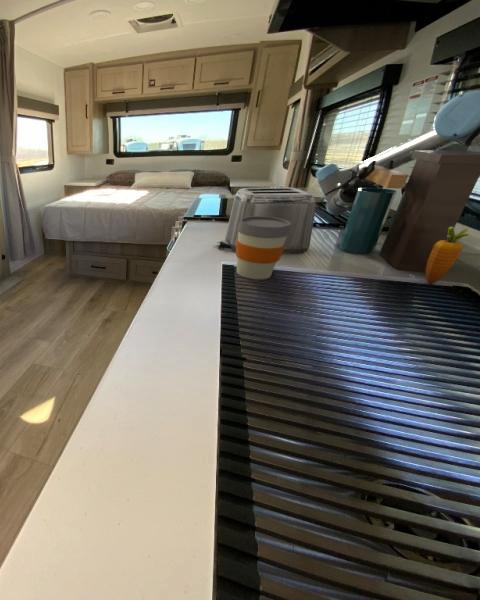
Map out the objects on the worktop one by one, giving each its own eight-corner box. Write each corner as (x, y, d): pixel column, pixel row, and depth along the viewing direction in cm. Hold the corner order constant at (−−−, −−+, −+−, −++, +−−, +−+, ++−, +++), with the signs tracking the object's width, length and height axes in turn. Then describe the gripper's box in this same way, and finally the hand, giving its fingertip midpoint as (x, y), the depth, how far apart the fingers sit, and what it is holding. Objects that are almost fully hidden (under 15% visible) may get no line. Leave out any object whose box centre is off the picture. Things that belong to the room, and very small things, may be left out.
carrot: (440, 282, 85) (469, 225, 78) (445, 290, 82) (476, 230, 75) (414, 279, 88) (440, 223, 81) (418, 286, 84) (446, 228, 77)
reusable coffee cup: (272, 266, 99) (284, 216, 92) (283, 283, 88) (298, 228, 81) (227, 264, 102) (236, 215, 95) (232, 280, 91) (242, 226, 85)
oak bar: (361, 176, 109) (364, 165, 108) (374, 176, 108) (378, 165, 106) (386, 188, 90) (391, 174, 88) (403, 188, 89) (408, 174, 87)
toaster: (317, 256, 105) (336, 194, 96) (220, 254, 110) (229, 195, 101) (295, 240, 120) (310, 185, 111) (210, 240, 124) (218, 187, 116)
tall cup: (373, 248, 109) (395, 189, 101) (372, 256, 103) (397, 193, 94) (339, 244, 114) (358, 187, 106) (337, 251, 108) (357, 191, 100)
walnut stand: (374, 252, 106) (413, 150, 93) (414, 255, 103) (461, 149, 89) (392, 270, 93) (441, 154, 80) (439, 274, 90) (499, 154, 76)
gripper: (377, 204, 118) (416, 177, 96) (322, 202, 124) (346, 176, 102) (381, 183, 118) (420, 152, 96) (325, 182, 124) (350, 152, 102)
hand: (382, 164), depth 99 cm, fingers closed on oak bar, 3 cm apart
